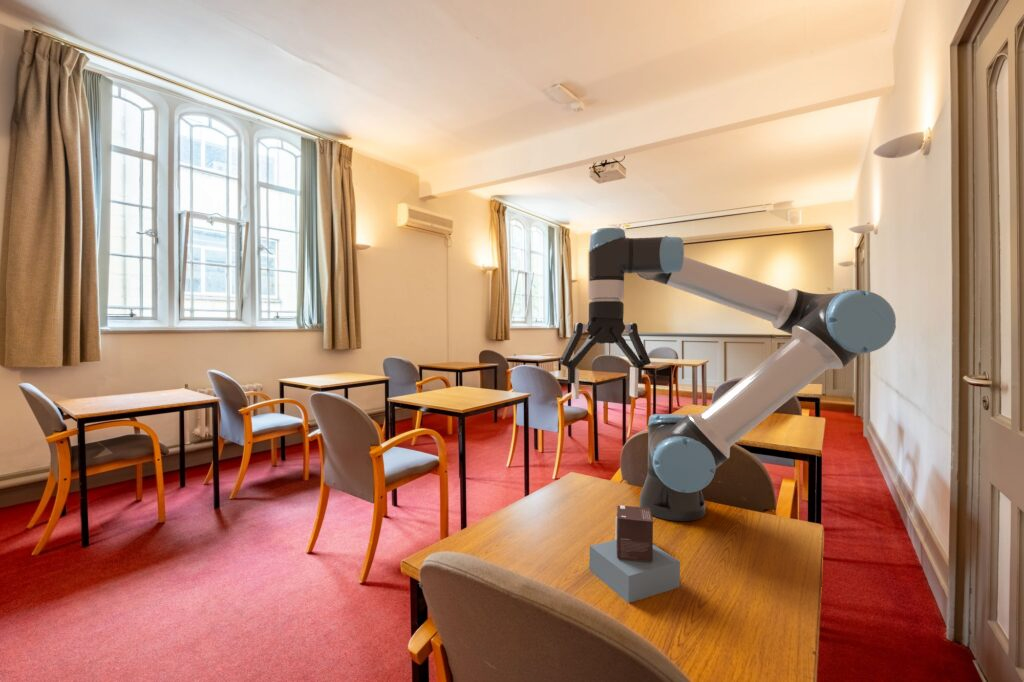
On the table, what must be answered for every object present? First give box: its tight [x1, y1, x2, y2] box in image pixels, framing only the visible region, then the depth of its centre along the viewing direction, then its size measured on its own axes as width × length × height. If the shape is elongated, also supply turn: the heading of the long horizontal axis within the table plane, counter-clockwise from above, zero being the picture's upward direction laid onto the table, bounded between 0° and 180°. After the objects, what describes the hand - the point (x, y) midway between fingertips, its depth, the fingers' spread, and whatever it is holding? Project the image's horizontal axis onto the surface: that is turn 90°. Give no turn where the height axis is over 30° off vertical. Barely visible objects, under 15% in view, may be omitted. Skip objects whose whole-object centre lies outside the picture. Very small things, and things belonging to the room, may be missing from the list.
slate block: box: [588, 539, 681, 604], centre depth 83 cm, size 11×11×5 cm
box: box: [616, 505, 654, 562], centre depth 83 cm, size 6×6×7 cm
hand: (604, 397), depth 103 cm, fingers open, 13 cm apart
